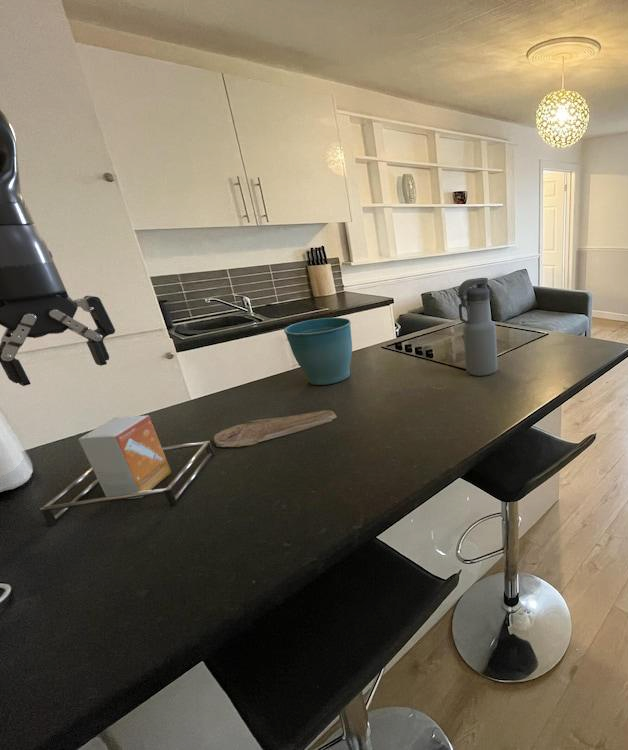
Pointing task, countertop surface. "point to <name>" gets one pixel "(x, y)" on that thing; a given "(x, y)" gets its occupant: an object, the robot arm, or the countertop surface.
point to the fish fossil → (270, 428)
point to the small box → (126, 455)
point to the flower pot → (322, 348)
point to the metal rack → (168, 491)
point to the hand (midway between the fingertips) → (65, 373)
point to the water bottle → (478, 328)
